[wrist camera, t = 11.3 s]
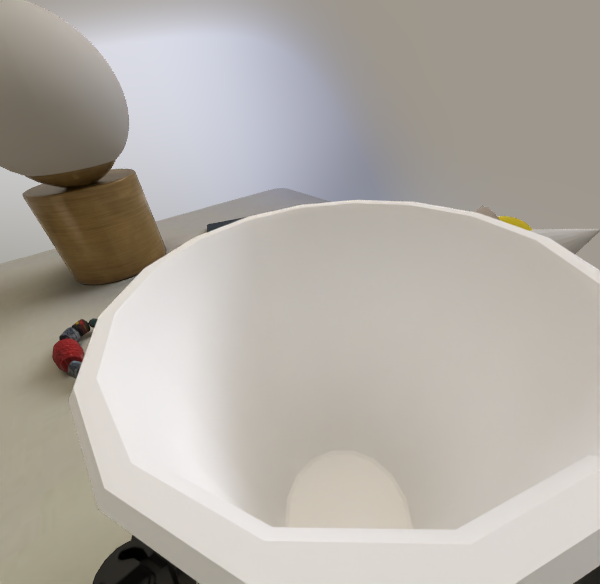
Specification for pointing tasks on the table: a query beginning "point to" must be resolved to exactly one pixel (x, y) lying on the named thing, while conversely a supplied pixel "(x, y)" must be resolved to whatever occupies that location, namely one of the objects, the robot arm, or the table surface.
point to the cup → (353, 401)
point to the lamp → (72, 146)
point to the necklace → (71, 347)
